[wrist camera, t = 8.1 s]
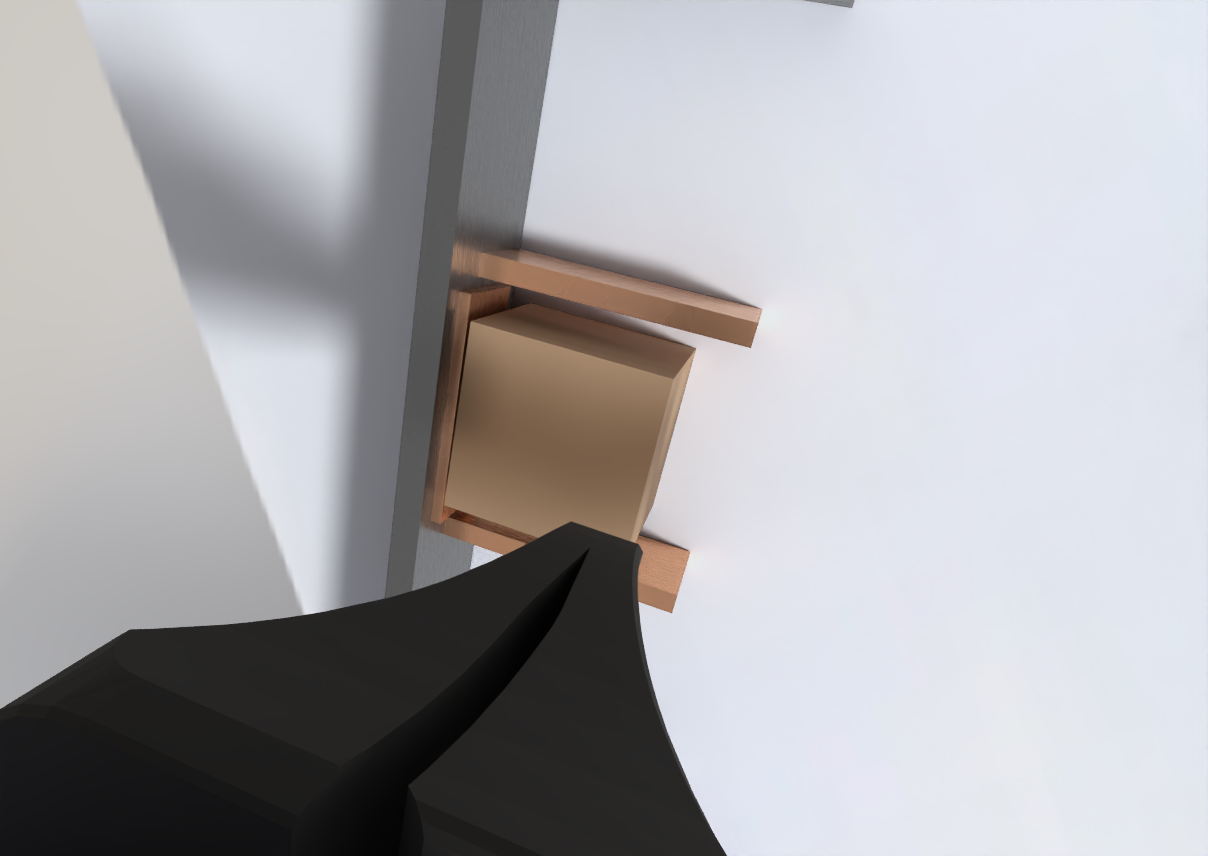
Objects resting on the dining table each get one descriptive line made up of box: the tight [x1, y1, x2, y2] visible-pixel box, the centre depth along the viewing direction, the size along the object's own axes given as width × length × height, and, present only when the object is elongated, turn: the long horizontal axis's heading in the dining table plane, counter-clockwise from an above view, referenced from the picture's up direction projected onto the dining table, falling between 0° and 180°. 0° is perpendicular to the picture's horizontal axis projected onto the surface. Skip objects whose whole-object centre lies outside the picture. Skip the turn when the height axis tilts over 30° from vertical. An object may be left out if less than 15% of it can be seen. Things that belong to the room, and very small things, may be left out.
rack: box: [385, 0, 854, 613], centre depth 17 cm, size 23×8×4 cm, turn 168°
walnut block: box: [444, 303, 696, 543], centre depth 17 cm, size 5×5×4 cm
